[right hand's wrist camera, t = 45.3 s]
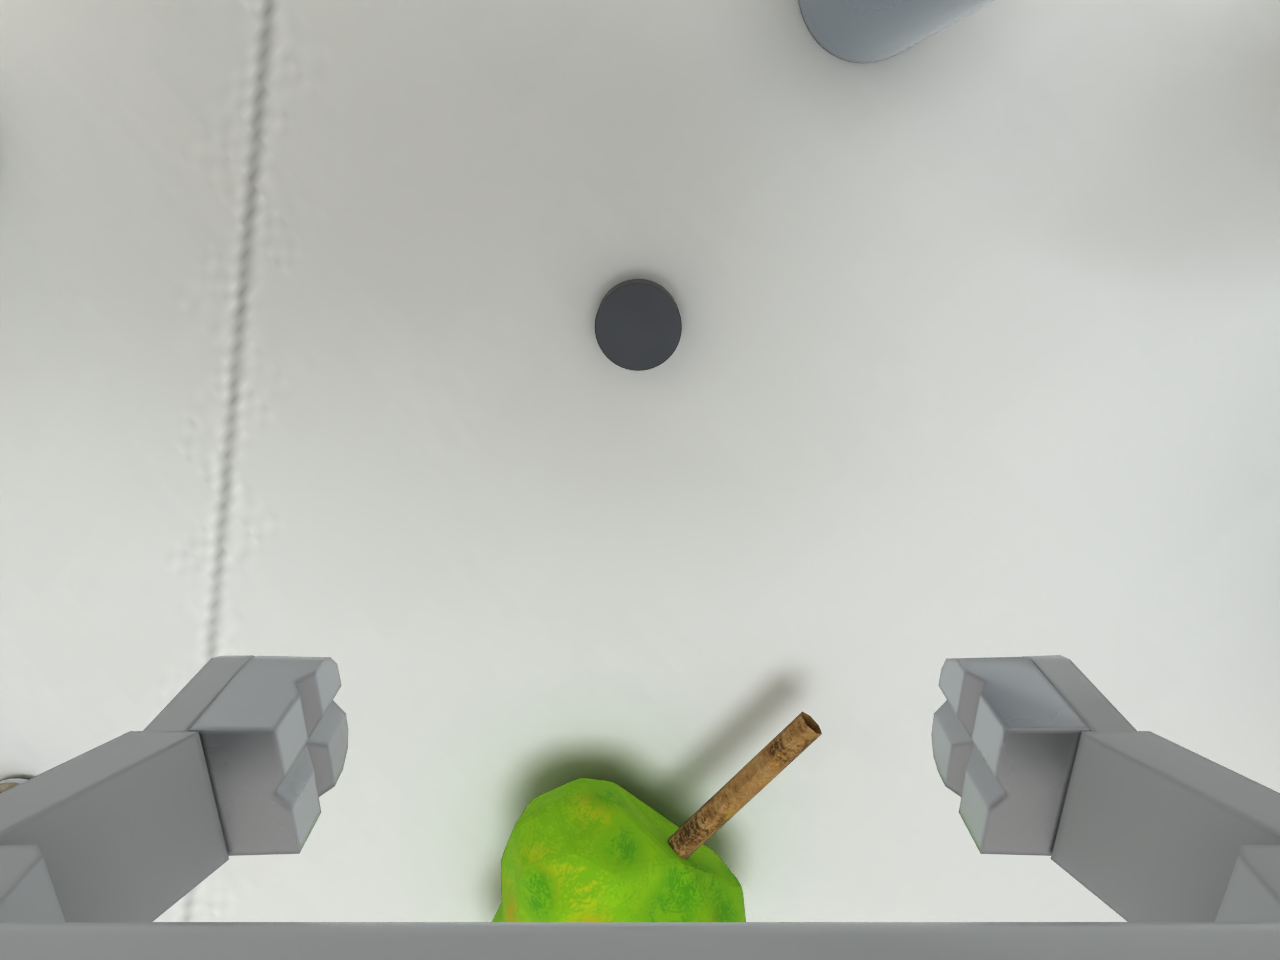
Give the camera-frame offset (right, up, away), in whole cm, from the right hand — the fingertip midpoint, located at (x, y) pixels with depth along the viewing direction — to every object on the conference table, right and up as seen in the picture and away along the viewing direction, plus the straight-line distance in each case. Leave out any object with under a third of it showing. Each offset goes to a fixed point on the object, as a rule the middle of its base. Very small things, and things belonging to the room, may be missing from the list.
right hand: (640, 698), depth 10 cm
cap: (0, +11, +30) cm, 32 cm away
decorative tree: (0, -21, +44) cm, 48 cm away
